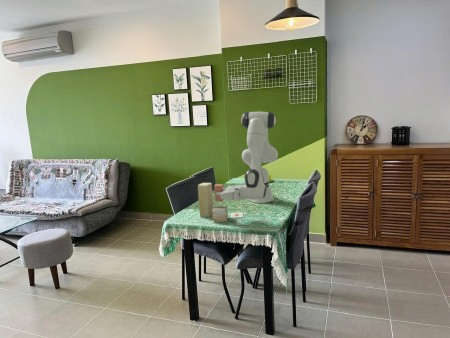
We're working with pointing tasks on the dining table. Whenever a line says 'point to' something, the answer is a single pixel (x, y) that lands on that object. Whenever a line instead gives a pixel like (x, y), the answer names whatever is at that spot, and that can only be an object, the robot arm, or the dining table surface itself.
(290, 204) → the dining table surface
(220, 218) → the tower base
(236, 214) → the page
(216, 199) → the tall brick
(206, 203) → the tall beige pillar
